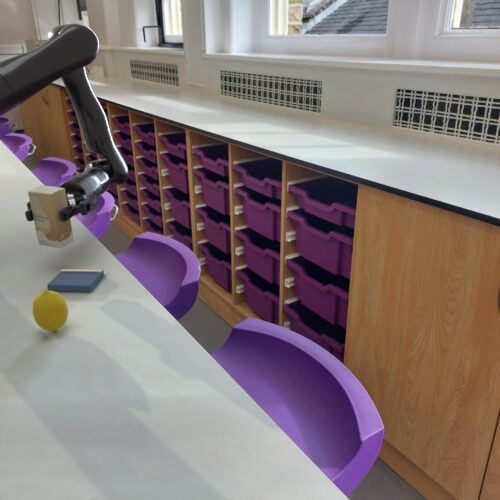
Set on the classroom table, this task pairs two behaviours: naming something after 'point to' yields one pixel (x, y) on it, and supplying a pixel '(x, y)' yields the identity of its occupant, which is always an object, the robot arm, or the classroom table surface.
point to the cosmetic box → (50, 216)
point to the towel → (76, 280)
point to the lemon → (50, 310)
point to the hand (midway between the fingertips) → (45, 217)
